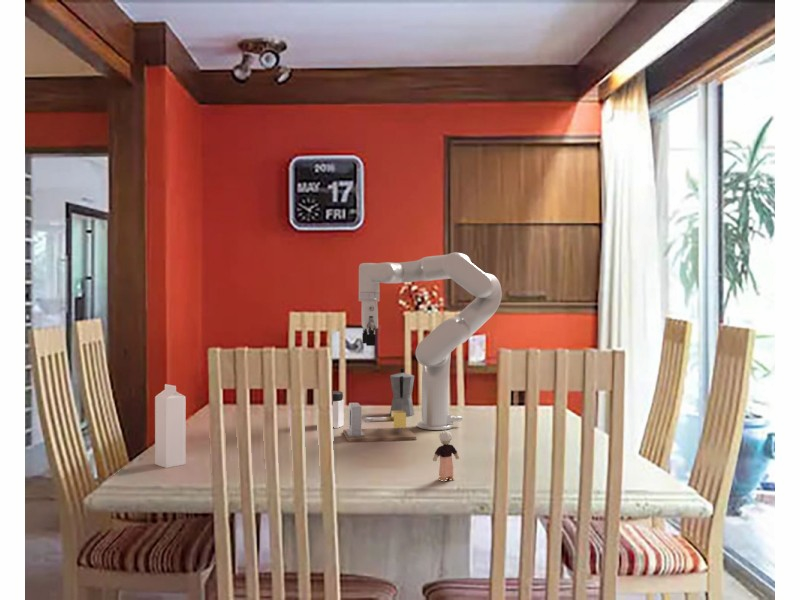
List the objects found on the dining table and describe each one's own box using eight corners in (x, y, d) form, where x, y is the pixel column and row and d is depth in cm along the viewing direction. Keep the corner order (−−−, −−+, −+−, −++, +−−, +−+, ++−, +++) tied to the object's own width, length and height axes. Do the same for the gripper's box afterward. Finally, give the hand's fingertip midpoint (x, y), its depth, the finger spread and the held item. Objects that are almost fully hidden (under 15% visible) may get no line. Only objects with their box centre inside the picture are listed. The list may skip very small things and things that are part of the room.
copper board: (407, 430, 251) (407, 427, 251) (416, 439, 236) (416, 436, 236) (343, 432, 246) (343, 429, 246) (348, 442, 232) (348, 438, 232)
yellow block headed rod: (402, 424, 245) (403, 410, 245) (405, 427, 240) (405, 412, 240) (362, 425, 242) (362, 411, 242) (364, 428, 238) (364, 413, 238)
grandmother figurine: (450, 476, 192) (450, 427, 191) (460, 479, 189) (461, 430, 189) (428, 481, 187) (429, 431, 186) (439, 484, 184) (439, 434, 184)
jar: (347, 426, 256) (348, 392, 256) (328, 429, 251) (328, 394, 251) (333, 423, 263) (333, 389, 263) (314, 425, 258) (314, 391, 258)
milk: (174, 460, 206) (175, 382, 206) (185, 464, 202) (186, 385, 201) (154, 464, 201) (154, 384, 201) (165, 468, 197) (166, 386, 197)
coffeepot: (390, 411, 288) (391, 365, 288) (414, 411, 288) (415, 366, 287) (388, 418, 273) (388, 370, 272) (413, 418, 272) (414, 370, 272)
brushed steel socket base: (360, 430, 245) (360, 402, 245) (364, 436, 235) (364, 407, 235) (345, 431, 244) (345, 402, 244) (349, 437, 234) (349, 407, 234)
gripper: (383, 297, 256) (383, 346, 256) (375, 296, 273) (375, 342, 273) (362, 297, 255) (361, 346, 255) (355, 296, 272) (355, 342, 272)
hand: (368, 344), depth 264 cm, fingers open, 9 cm apart
